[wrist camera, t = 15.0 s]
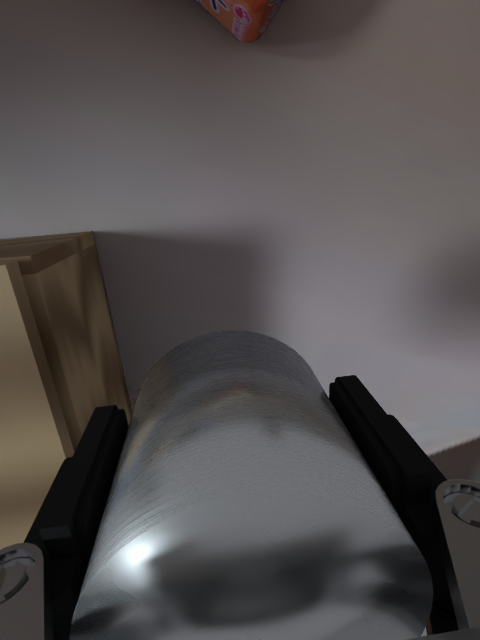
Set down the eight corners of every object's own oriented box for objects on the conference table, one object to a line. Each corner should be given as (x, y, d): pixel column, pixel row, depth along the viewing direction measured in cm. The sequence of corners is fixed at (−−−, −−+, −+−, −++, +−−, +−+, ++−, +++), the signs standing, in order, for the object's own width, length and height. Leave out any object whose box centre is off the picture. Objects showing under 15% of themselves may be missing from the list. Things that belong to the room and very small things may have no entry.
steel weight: (116, 343, 10) (17, 535, 5) (322, 319, 11) (456, 471, 5) (152, 500, 12) (113, 758, 7) (321, 475, 13) (415, 700, 7)
